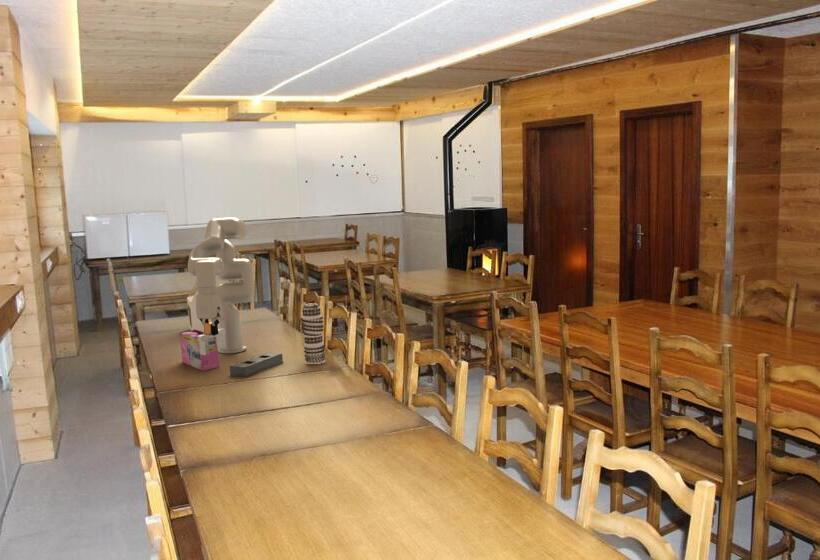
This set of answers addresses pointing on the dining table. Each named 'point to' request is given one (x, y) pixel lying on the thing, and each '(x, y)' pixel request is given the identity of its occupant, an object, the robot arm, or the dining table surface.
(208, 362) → the gum box
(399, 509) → the dining table surface
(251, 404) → the dining table surface
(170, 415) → the dining table surface
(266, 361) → the grey block with holes
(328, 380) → the dining table surface
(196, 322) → the gable box
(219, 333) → the clip
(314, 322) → the decorative candle
